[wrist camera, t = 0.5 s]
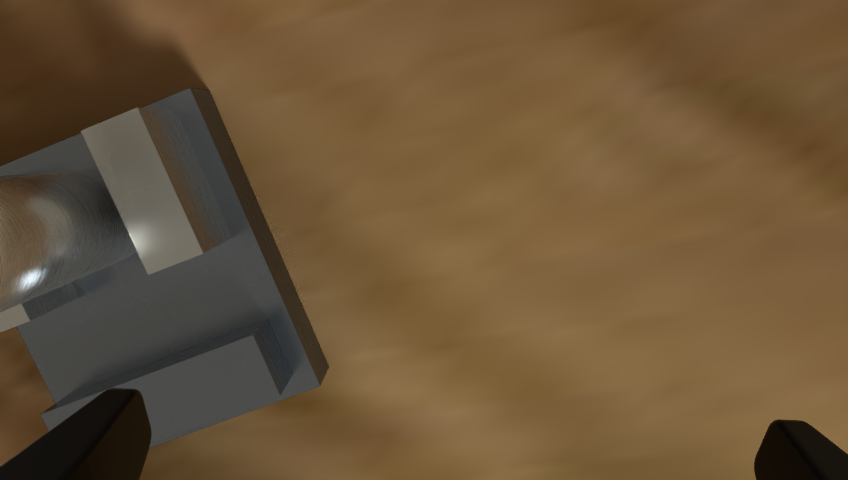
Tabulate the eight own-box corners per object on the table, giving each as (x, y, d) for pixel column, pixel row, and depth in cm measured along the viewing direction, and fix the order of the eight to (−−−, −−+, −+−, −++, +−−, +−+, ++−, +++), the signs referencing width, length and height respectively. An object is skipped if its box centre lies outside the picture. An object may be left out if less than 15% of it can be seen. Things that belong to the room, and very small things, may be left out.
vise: (329, 367, 27) (303, 421, 22) (114, 445, 28) (43, 514, 23) (209, 90, 25) (153, 82, 20) (-17, 183, 26) (-123, 197, 21)
